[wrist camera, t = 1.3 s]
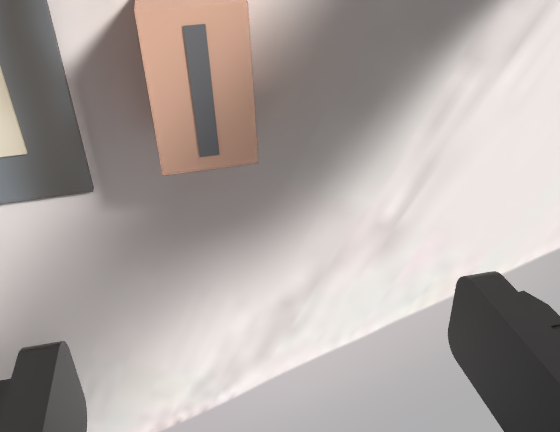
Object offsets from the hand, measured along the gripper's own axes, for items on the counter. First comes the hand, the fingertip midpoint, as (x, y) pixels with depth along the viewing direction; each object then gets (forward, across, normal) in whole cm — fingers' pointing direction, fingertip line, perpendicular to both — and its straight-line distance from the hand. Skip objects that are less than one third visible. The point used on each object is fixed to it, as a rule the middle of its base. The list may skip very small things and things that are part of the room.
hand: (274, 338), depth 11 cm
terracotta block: (+23, 0, 0) cm, 23 cm away
